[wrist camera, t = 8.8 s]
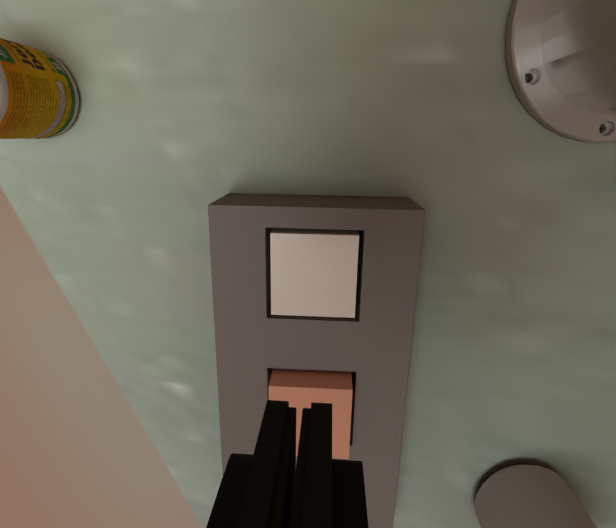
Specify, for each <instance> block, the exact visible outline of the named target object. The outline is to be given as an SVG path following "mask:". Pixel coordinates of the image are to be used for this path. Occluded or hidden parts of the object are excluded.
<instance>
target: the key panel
mask: <svg viewBox="0 0 616 528" xmlns="http://www.w3.org/2000/svg"><path fill="white" fill-rule="evenodd" d="M208 213H209V231H210V250H211V268H212V286H213V304H214V322H215V340H216V358H217V376H218V395H219V413H220V431H221V449H222V467H223V475H224V472H225V469H226V466H227V463H228V460H229V457H230V455H231V454H232V453H236V454H254V450H255V446H256V442H257V438H258V434H259V430H260V426H261V422H262V418H263V414H264V410H265V406H266V403H267V400H269V382H270V378H271V374H272V370H273V368H280V369H303V370H326V371H349V372H351V376H352V388H353V393H352V411H351V429H350V446H349V459H340V458H332V459H337V460H353V461H362V464H363V473H364V484H365V495H366V506H367V517H368V528H393V522H394V512H395V502H396V492H397V482H398V472H399V462H400V452H401V442H402V432H403V423H404V413H405V403H406V393H407V383H408V373H409V363H410V353H411V343H412V333H413V323H414V313H415V303H416V294H417V284H418V274H419V264H420V254H421V244H422V234H423V224H424V214H425V210H424V209H423V208H421V207H420V206H419V205H417V204H416V203H415V202H413V201H412V200H411V199H409V198H402V197H359V196H317V195H275V194H233V193H229V194H227V195H225V196H223V197H222V198H220V199H218V200H216V201H214V202H212V203H211V204H209V205H208ZM273 228H302V229H338V230H358V233H359V249H358V267H357V285H356V304H355V318H347V317H320V316H293V315H271V258H270V233H271V231H272V230H273ZM296 464H297V456H296Z"/></svg>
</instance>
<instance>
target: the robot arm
mask: <svg viewBox="0 0 616 528" xmlns="http://www.w3.org/2000/svg"><path fill="white" fill-rule="evenodd" d="M505 39H506V62H507V66H508V71H509V75H510V80H511V83H512V85H513V87H514V89H515V91H516V94H517V96H518V98H519V100H520V101H521V103H522V104H523V105H524V107H525V108H526V109H527V111H528V112H529V113H530V115H531V116H532V117H534V118H535V119H536V120H537V121H538V122H539V123H541V124H542V125H543V126H544V127H545V128H547V129H549V130H551V131H553V132H555V133H557V134H559V135H561V136H563V137H567V138H571V139H574V140H578V141H586V142H616V0H513V3H512V7H511V10H510V13H509V17H508V24H507V31H506V38H505ZM526 74H527V75H528V76H529V82H528V83H526V82H525V75H526ZM600 126H601V130H600V132H599V128H600ZM206 528H368V517H367V506H366V495H365V484H364V473H363V464H362V461H353V460H337V459H332V403H314V402H311V408H303V410H302V419H301V428H300V437H299V446H298V455H297V464H296V407H289V402H288V401H276V400H267V403H266V406H265V410H264V414H263V418H262V422H261V426H260V430H259V434H258V438H257V442H256V446H255V450H254V454H236V453H232V454H231V455H230V457H229V460H228V463H227V466H226V469H225V472H224V475H223V478H222V481H221V484H220V487H219V490H218V493H217V497H216V500H215V503H214V506H213V509H212V512H211V515H210V518H209V521H208V524H207V527H206Z"/></svg>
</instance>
